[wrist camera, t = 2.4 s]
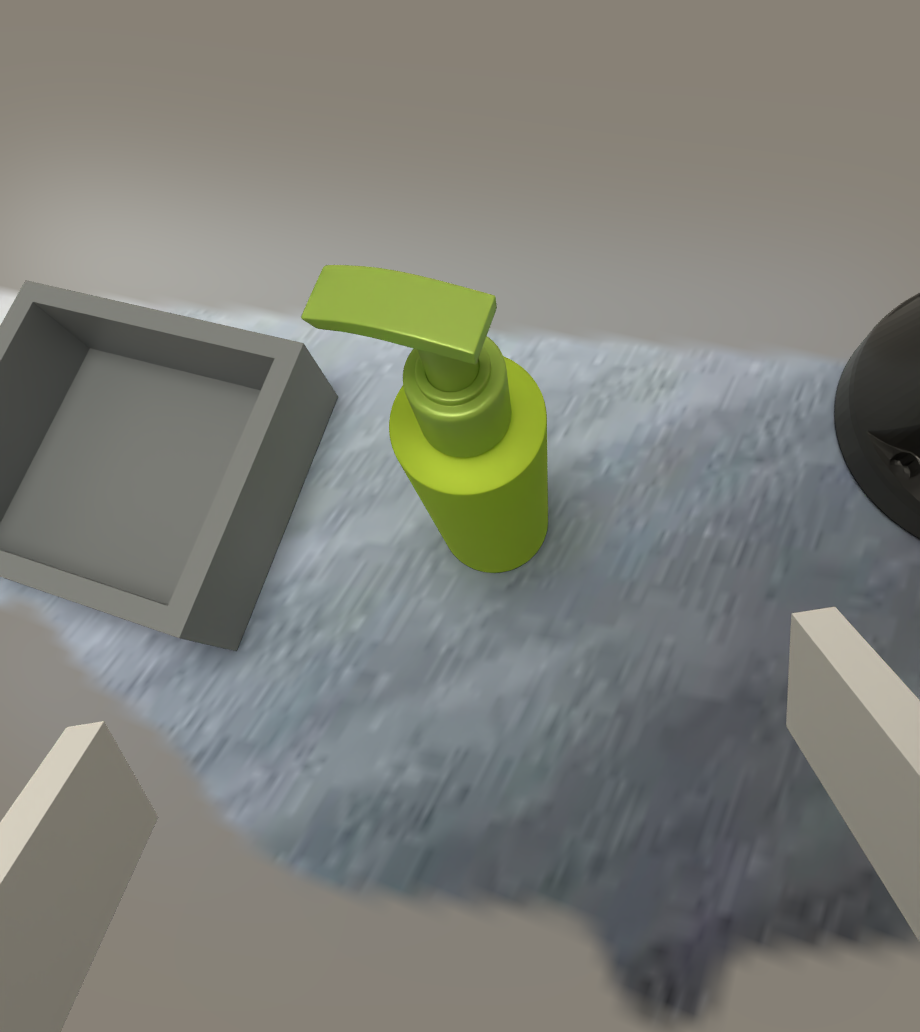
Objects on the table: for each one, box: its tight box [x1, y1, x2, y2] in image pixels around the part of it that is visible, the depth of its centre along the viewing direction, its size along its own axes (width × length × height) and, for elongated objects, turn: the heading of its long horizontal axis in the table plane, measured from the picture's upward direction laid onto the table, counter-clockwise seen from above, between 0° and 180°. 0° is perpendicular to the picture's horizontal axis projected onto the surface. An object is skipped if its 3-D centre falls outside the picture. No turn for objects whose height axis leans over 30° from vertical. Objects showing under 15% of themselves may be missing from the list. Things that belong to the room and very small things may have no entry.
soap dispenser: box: [301, 265, 548, 573], centre depth 28 cm, size 6×7×20 cm
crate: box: [0, 281, 338, 651], centre depth 38 cm, size 18×16×6 cm
